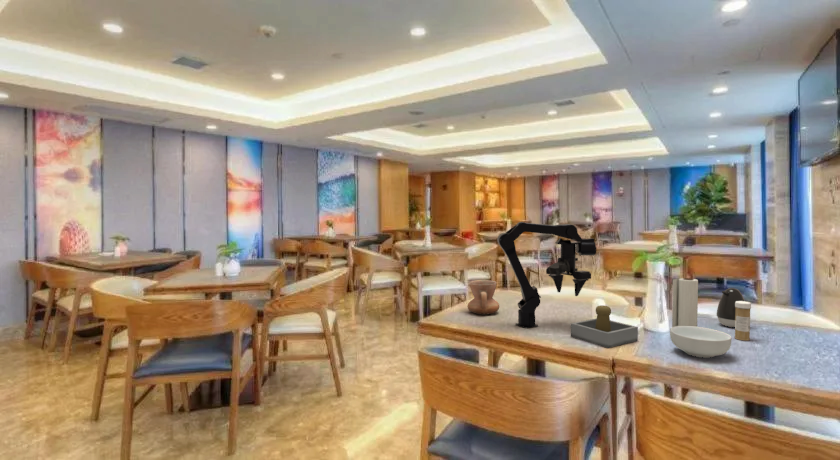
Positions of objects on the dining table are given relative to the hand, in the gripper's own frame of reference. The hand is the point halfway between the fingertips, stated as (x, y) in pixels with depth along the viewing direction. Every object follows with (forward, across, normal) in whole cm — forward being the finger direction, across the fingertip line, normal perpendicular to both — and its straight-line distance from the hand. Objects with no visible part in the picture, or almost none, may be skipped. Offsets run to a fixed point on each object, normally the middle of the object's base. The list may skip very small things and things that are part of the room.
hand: (567, 294), depth 178 cm
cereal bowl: (+13, +46, +10) cm, 49 cm away
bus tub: (+13, +19, -2) cm, 23 cm away
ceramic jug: (+13, -35, -16) cm, 41 cm away
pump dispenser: (+13, +33, +55) cm, 65 cm away
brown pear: (+12, +19, -2) cm, 23 cm away
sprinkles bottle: (+13, +44, +39) cm, 61 cm away
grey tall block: (+13, +33, +25) cm, 43 cm away
